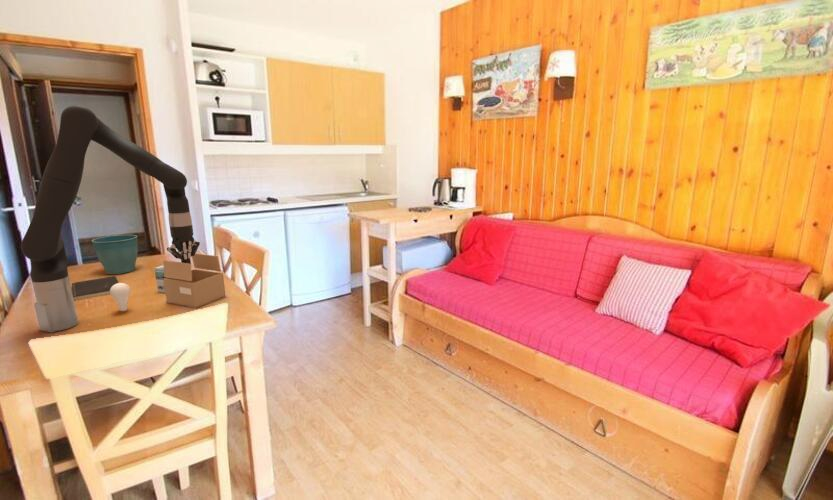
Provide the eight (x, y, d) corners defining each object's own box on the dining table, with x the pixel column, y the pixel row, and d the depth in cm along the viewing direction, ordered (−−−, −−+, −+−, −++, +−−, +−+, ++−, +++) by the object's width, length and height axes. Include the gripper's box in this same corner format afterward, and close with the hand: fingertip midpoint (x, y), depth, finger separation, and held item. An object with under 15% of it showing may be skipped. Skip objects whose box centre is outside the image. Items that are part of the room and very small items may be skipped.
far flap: (217, 256, 162) (218, 256, 163) (191, 253, 168) (192, 252, 168) (220, 271, 165) (221, 271, 165) (194, 267, 170) (195, 267, 170)
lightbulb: (130, 306, 157) (125, 279, 154) (136, 310, 153) (131, 282, 150) (111, 311, 152) (106, 283, 149) (116, 315, 148) (111, 287, 146)
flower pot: (104, 268, 208) (98, 236, 204) (146, 264, 215) (140, 233, 211) (93, 278, 192) (86, 243, 188) (138, 274, 199) (132, 240, 195)
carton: (196, 308, 155) (192, 283, 152) (166, 302, 161) (162, 278, 158) (225, 296, 167) (222, 273, 165) (197, 291, 173) (194, 269, 171)
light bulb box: (170, 293, 171) (167, 268, 169) (157, 292, 173) (153, 268, 170) (189, 285, 182) (186, 262, 179) (176, 284, 183) (172, 261, 180)
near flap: (192, 280, 153) (191, 281, 152) (165, 276, 158) (164, 276, 158) (191, 263, 152) (190, 264, 151) (164, 260, 157) (163, 260, 157)
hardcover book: (116, 280, 191) (115, 275, 190) (121, 293, 174) (121, 288, 173) (72, 287, 181) (71, 282, 180) (73, 302, 163) (72, 296, 163)
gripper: (171, 227, 147) (178, 273, 151) (202, 222, 159) (208, 264, 163) (157, 226, 150) (164, 271, 154) (189, 220, 162) (194, 262, 166)
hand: (186, 268), depth 159 cm, fingers closed
